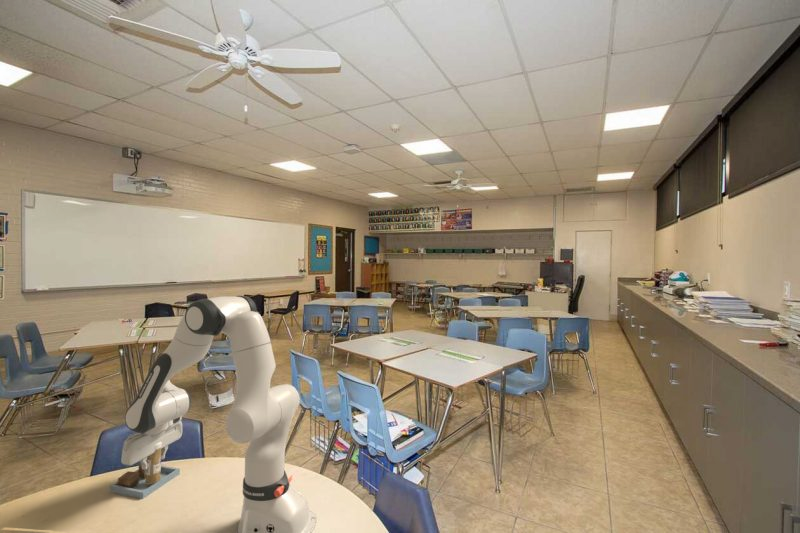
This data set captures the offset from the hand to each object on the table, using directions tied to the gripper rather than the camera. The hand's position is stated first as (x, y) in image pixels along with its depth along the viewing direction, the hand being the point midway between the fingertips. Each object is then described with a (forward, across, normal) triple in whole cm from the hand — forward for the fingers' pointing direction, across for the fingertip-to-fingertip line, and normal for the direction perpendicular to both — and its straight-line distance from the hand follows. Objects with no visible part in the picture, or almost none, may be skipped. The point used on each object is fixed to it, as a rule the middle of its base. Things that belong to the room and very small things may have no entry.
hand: (153, 463), depth 121 cm
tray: (+8, 0, +3) cm, 8 cm away
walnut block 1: (+7, -4, +7) cm, 10 cm away
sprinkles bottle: (+6, 0, 0) cm, 6 cm away
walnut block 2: (+7, +4, +7) cm, 10 cm away
